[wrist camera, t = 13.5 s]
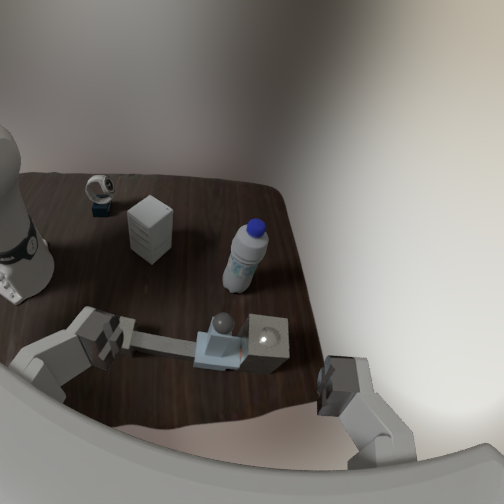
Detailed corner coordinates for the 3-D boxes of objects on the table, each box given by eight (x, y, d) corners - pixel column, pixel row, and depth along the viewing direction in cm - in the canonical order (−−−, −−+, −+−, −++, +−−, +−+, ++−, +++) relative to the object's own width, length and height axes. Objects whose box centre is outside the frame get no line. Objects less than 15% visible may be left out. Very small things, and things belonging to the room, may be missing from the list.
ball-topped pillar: (193, 367, 48) (201, 335, 35) (196, 339, 52) (206, 297, 39) (235, 372, 49) (259, 342, 37) (236, 344, 53) (260, 305, 41)
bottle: (225, 268, 66) (245, 205, 51) (252, 278, 66) (279, 218, 51) (215, 290, 61) (234, 228, 46) (244, 301, 61) (272, 242, 46)
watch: (114, 217, 66) (111, 184, 58) (87, 216, 64) (81, 184, 56) (118, 203, 70) (116, 171, 62) (92, 202, 67) (87, 171, 59)
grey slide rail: (117, 354, 46) (105, 331, 37) (126, 318, 51) (117, 289, 43) (269, 376, 51) (290, 359, 43) (268, 340, 56) (288, 317, 48)
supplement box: (150, 232, 67) (150, 193, 57) (172, 247, 65) (174, 209, 56) (129, 249, 62) (125, 210, 52) (151, 266, 61) (149, 228, 51)
